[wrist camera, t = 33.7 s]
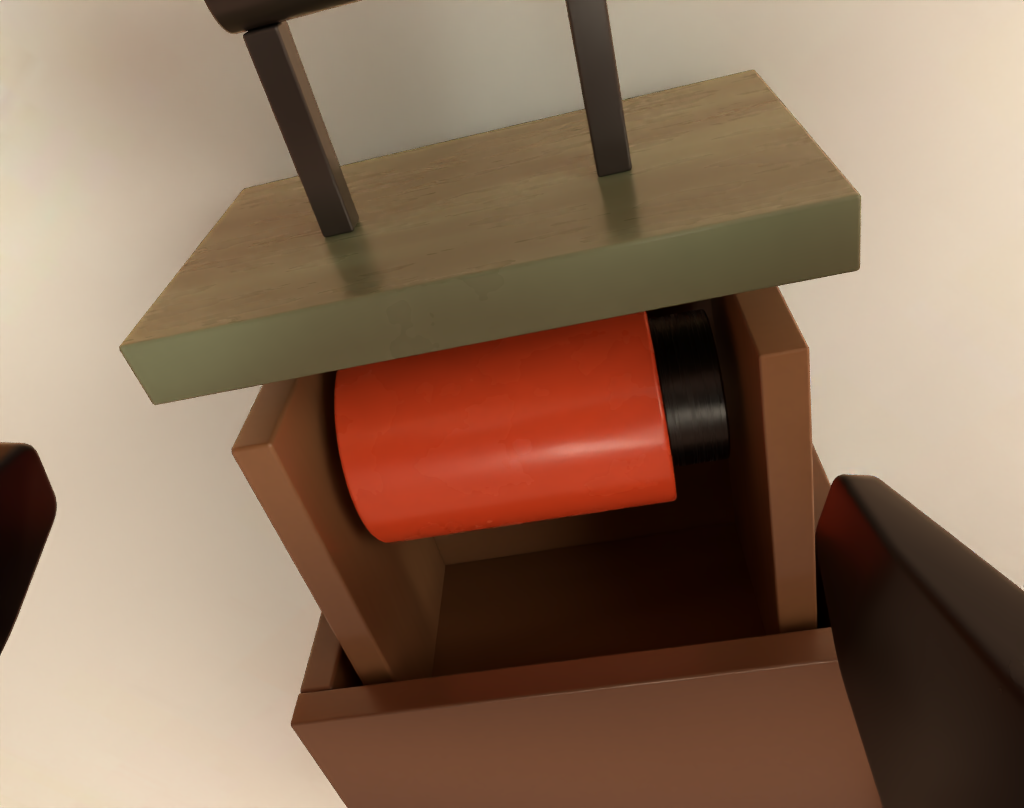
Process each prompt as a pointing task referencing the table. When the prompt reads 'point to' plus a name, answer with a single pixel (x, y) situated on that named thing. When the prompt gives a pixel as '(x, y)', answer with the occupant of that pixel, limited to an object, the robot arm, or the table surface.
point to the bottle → (531, 425)
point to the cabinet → (599, 727)
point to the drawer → (512, 312)
